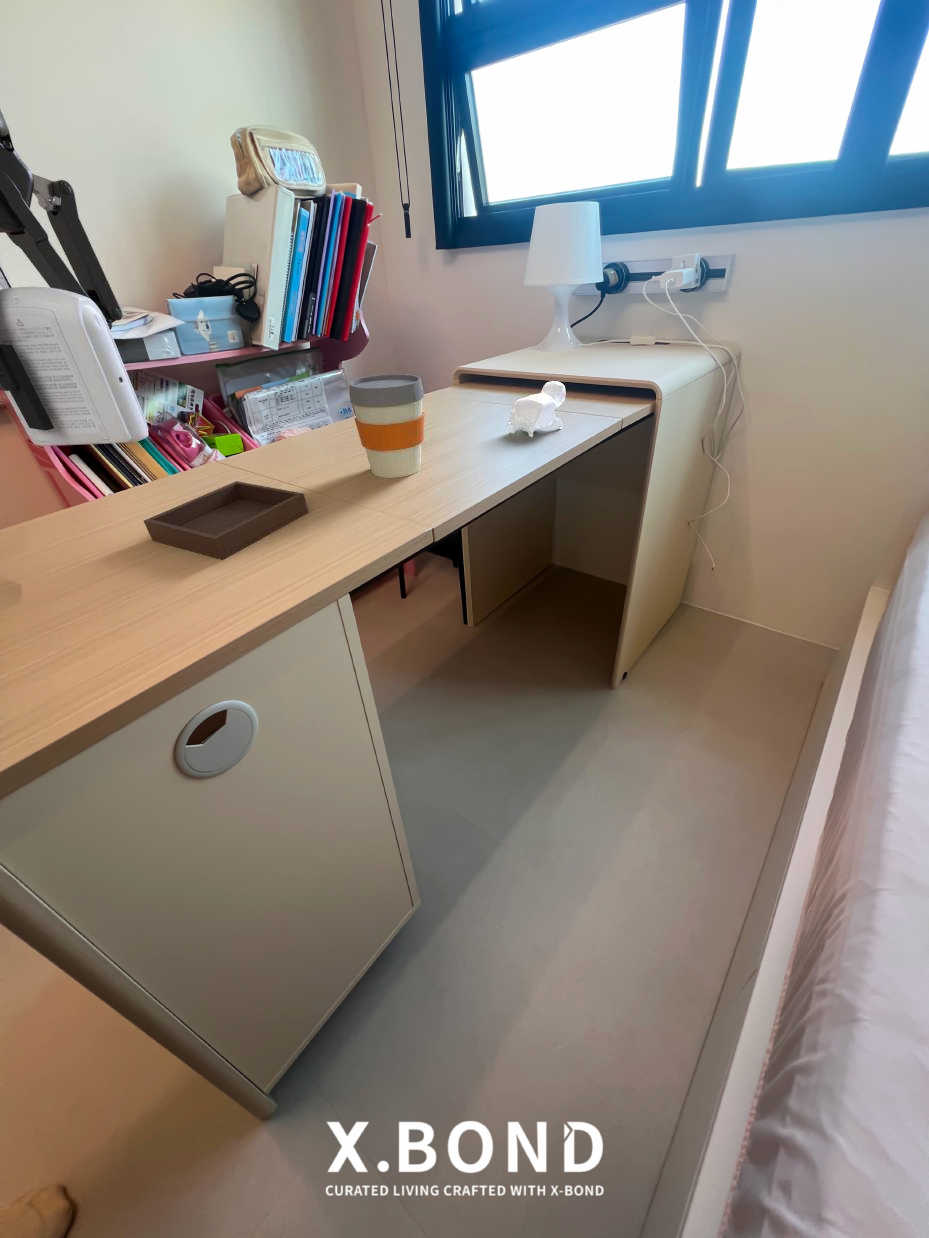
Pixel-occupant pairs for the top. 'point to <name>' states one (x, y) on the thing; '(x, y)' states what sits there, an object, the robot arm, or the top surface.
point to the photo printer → (70, 367)
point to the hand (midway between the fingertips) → (81, 417)
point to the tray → (226, 519)
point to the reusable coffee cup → (390, 422)
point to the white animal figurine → (538, 409)
